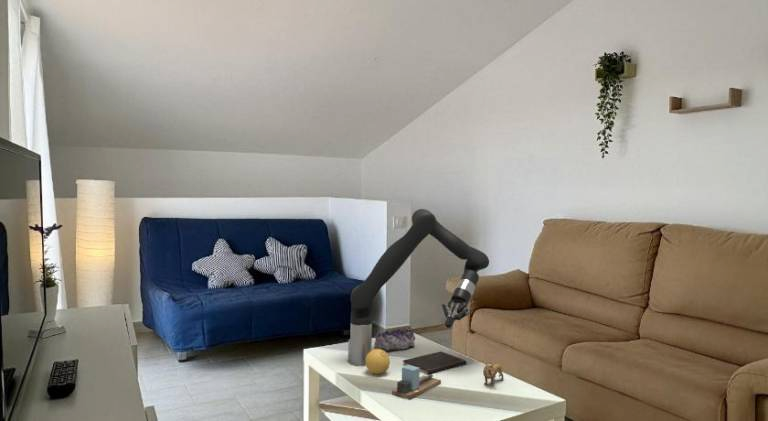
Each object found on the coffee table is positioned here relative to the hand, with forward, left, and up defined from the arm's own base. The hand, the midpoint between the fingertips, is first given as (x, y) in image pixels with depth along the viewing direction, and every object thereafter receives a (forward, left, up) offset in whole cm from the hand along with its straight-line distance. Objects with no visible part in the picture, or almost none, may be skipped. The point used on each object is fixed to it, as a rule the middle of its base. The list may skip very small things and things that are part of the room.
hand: (447, 326), depth 225 cm
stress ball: (-22, -18, -20) cm, 35 cm away
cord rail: (0, -21, -20) cm, 29 cm away
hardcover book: (-10, +7, -21) cm, 24 cm away
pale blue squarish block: (0, -26, -18) cm, 31 cm away
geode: (-37, +16, -20) cm, 45 cm away
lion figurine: (+20, +4, -20) cm, 28 cm away
